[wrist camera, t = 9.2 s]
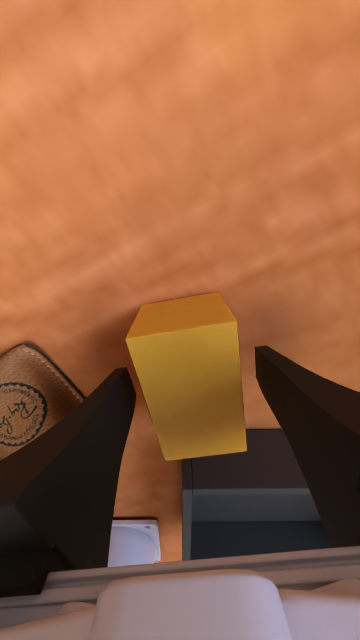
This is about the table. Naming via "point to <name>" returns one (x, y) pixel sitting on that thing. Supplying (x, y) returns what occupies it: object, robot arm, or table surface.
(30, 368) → the sunglasses case
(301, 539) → the tub
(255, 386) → the table surface
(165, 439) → the block
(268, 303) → the table surface
